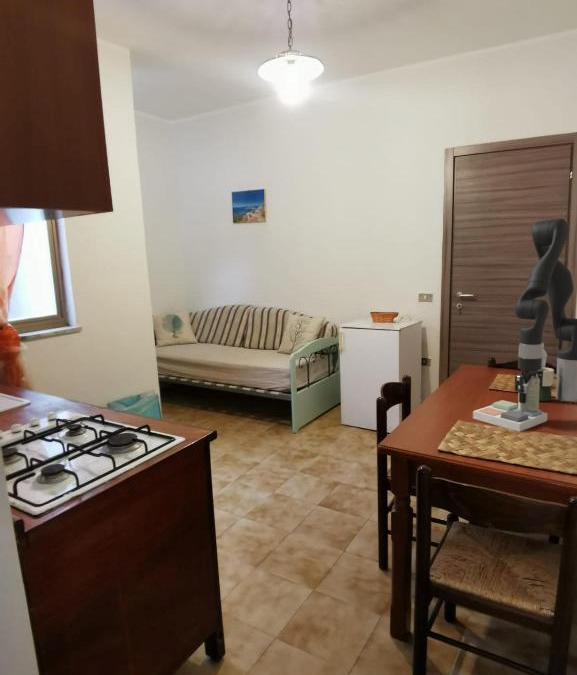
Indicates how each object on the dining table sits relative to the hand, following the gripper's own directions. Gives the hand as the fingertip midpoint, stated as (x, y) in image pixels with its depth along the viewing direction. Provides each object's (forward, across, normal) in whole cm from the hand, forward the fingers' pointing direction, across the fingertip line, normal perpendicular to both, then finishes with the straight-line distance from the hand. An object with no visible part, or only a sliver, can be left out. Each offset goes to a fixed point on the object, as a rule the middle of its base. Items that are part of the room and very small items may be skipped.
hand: (528, 400), depth 172 cm
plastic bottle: (+7, -44, -22) cm, 49 cm away
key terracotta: (+6, +9, -9) cm, 14 cm away
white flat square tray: (+7, +4, -4) cm, 10 cm away
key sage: (+5, 0, -9) cm, 10 cm away
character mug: (+7, -27, -10) cm, 29 cm away
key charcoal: (+5, +9, 0) cm, 10 cm away
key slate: (+5, 0, 0) cm, 5 cm away
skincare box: (+4, 0, 0) cm, 4 cm away
